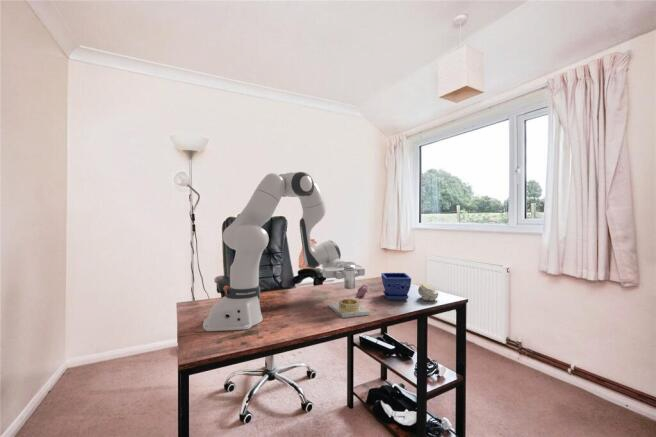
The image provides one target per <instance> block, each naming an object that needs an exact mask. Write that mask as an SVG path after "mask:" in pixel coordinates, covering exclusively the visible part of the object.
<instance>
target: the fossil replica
mask: <svg viewBox="0 0 656 437" xmlns="http://www.w3.org/2000/svg"><path fill="white" fill-rule="evenodd" d="M417 291H418V295H419V296H421V299H423V300H424V301H427V302H428V301H430V302H433V301H435V300H437V299H438V297H439V292H438V291H437V290H436V288H435V287H434V286H432V285H430V284H428V283H426V282H423V283H422V284H421V285H420V286H419V287H418V290H417Z"/></svg>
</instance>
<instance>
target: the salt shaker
mask: <svg viewBox="0 0 656 437" xmlns="http://www.w3.org/2000/svg"><path fill="white" fill-rule="evenodd" d="M344 274H345V278H343V289H346V290H353V289H356V277H355V265H351V264H347V265H344Z"/></svg>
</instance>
